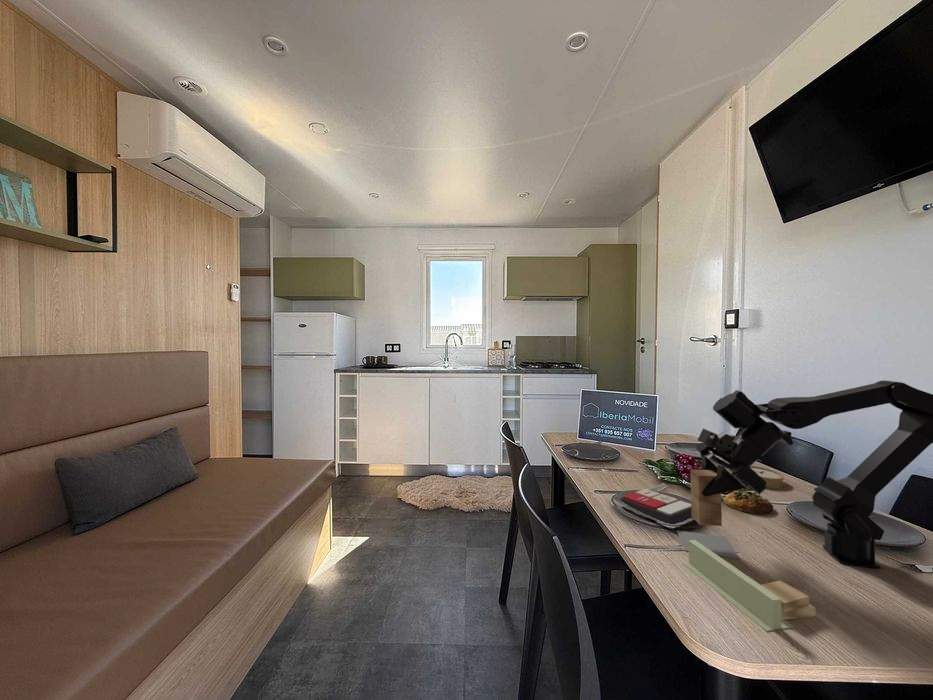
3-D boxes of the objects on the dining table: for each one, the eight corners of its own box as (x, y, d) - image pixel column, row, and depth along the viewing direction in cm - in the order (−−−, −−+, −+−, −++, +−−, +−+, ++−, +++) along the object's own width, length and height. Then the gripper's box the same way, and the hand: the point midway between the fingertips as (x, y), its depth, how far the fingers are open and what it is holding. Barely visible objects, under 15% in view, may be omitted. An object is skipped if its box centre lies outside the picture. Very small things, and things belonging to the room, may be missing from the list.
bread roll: (778, 518, 94) (774, 498, 94) (726, 515, 100) (723, 496, 100) (769, 503, 103) (766, 485, 104) (722, 501, 109) (719, 484, 110)
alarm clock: (788, 482, 110) (728, 465, 119) (784, 497, 111) (725, 480, 119) (781, 471, 120) (726, 456, 128) (778, 485, 120) (723, 469, 128)
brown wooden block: (712, 517, 84) (711, 470, 84) (721, 525, 80) (720, 476, 80) (691, 516, 85) (690, 469, 85) (699, 524, 81) (698, 475, 81)
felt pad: (725, 538, 85) (725, 536, 85) (739, 559, 77) (739, 558, 77) (676, 532, 89) (676, 530, 89) (685, 552, 80) (685, 550, 80)
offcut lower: (785, 596, 66) (785, 588, 66) (815, 616, 61) (815, 607, 61) (751, 599, 65) (751, 590, 65) (779, 620, 60) (779, 611, 60)
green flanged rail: (705, 562, 76) (704, 538, 76) (793, 628, 58) (793, 597, 58) (683, 564, 75) (683, 541, 75) (766, 632, 58) (766, 601, 58)
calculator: (645, 487, 108) (696, 503, 95) (645, 501, 108) (697, 520, 95) (619, 494, 103) (670, 513, 90) (620, 510, 103) (671, 530, 90)
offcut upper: (779, 588, 65) (780, 580, 65) (808, 605, 61) (809, 596, 61) (755, 594, 64) (756, 585, 64) (784, 612, 59) (784, 603, 59)
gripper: (703, 410, 91) (656, 453, 93) (748, 427, 72) (689, 480, 74) (738, 442, 90) (690, 485, 91) (793, 467, 71) (732, 520, 73)
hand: (698, 490), depth 83 cm, fingers closed on brown wooden block, 4 cm apart
